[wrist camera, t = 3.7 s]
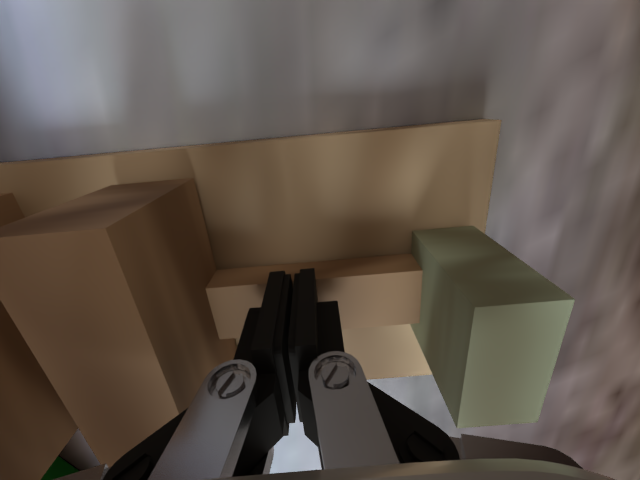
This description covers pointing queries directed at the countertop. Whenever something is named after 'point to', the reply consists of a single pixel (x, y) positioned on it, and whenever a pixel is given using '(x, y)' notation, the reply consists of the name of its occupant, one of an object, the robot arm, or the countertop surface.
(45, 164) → the base
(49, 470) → the milk carton
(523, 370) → the sliding jaw
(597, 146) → the countertop surface
